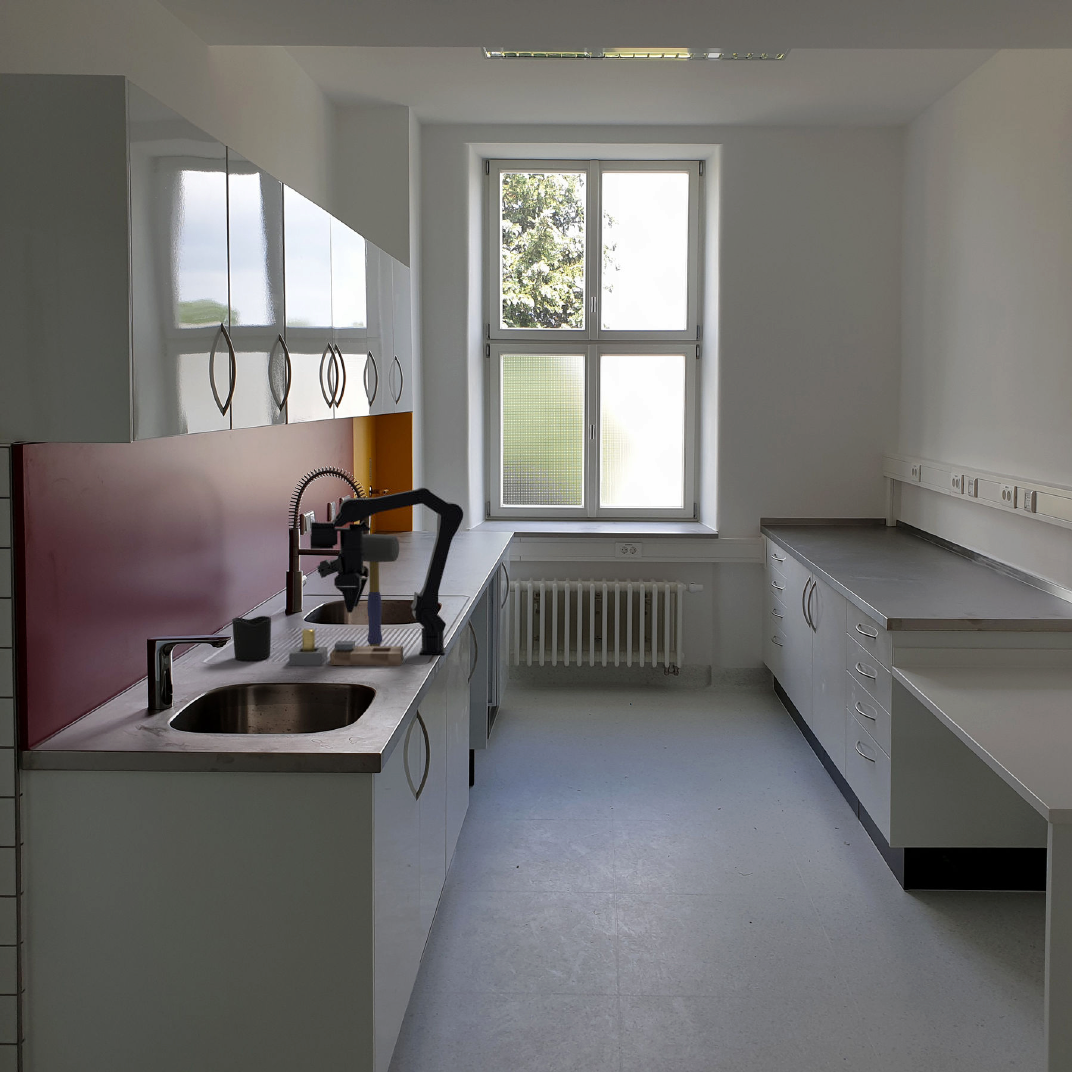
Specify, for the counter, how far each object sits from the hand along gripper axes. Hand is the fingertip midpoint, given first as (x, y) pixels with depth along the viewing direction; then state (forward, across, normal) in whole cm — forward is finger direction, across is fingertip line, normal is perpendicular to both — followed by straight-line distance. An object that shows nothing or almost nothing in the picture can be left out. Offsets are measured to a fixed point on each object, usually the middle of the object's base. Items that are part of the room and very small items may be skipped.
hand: (352, 609), depth 270 cm
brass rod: (+12, +7, -10) cm, 17 cm away
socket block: (+12, +7, +4) cm, 14 cm away
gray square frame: (+12, +7, -10) cm, 17 cm away
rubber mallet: (+12, -13, +4) cm, 18 cm away
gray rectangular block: (+12, +7, -1) cm, 14 cm away
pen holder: (+12, +2, -25) cm, 28 cm away
